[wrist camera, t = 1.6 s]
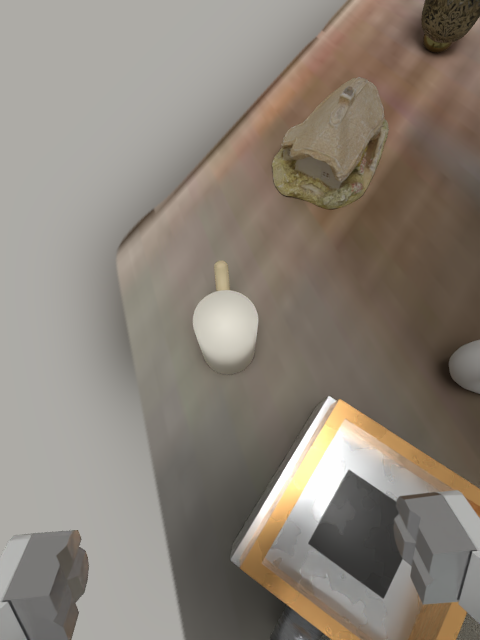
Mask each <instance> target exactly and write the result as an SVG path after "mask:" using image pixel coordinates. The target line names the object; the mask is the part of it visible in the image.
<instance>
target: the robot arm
mask: <svg viewBox="0 0 480 640" xmlns="http://www.w3.org/2000/svg"><path fill="white" fill-rule="evenodd" d="M396 508H397V510H398V512H399V514H398V515H397V516H396V517H395V518H394V526H393V530H394V536H395V541H396V544H397V548H398V550H399V553H400V555H401V557H402V559H403V560H404V561H406V562H407V563H408V564H409V565H411V566H412V568H411V574H410V577H411V580H412V582H413V584H414V586H415V588H416V591H417V593H418V595H419V597H420V599H421V602H422V604H423V605H424V604H437V603H449V602H459V603H458V604H459V605H460V606H461V607H462V608H463V609H464V610H465V611H466V612H467V613H469V614H470V615H471V616H472V617H473V618H474V619H475V620H476V621H477V622H478V623H479V624H480V518H479V517H478V515H477V514H476V512H475V511H474V509H473V508H472V507H471V505H470V504H469V502H468V501H467V500H466V498H465V497H464V495H463V494H462V493H461V492H460V491H458V490H453V491H444V492H430V493H422V494H413V495H405V496H399V497H398V499H397V502H396ZM80 542H81V537H80V534H79V532H78V530H72V531H59V532H45V533H33V534H22V535H14V536H13V537H12V538H11V539H10V541H9V542H8V543H7V545H6V547H5V549H4V551H3V553H2V556H1V558H0V640H71V638H72V635H73V632H74V628H75V625H76V621H77V617H78V614H79V612H78V609H77V606H76V604H75V603H76V602H77V600H78V599H79V598H80V597H81V596H82V595H83V594H84V592H85V588H86V584H87V580H88V570H89V565H88V557H87V554H86V551H85V550H83V549H82V548H80V547H79V545H80Z"/></svg>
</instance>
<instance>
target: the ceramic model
mask: <svg viewBox="0 0 480 640" xmlns="http://www.w3.org/2000/svg"><path fill="white" fill-rule="evenodd" d="M388 130H389V129H388V123H387V121H386V120H385V119H384V109H383V106H382V104H381V101H380V97H379V94H378V91H377V88H376V86H375V85H374V84H372V83H371V82H368V80H366V79H364V78H360V77H358V78H353V79H352V80H350V81H348V82H346V83H345V84H343V85H341V86H340V87H339V88H338V89H337V90H335V91H334V92H333V93H331V94H330V95H329V96H328V97H327V98H326V99H325V100H324V101H323V102H322V103H321V104H320V105H319V106H318V107H317V108H316V109H315V110H314V111H313V113H312V114H311V115H310V116H309V117H308V118H307V119H306V120H305V121H304V122H303V123H301V124H298V125H296V126H294V127H292V128H290V129H289V130H288V132H287V134H286V135H285V137H284V139H283V142H282V144H281V145H282V148H281V150H280V151H279V152H278V153H277V155H276V156H275V157H274V160H273V163H272V167H273V179H274V184H275V186H276V188H277V189H278V191H279V192H280V193H281V194H283V195H285V196H291V197H296V198H299V199H302V200H305V201H308V202H310V203H313V204H315V205H317V206H319V207H322V208H325V209H335V208H340V207H343V206H346V205H348V204H350V203H352V202H354V201H356V200H357V199H359V198H360V197H361V196H362V195H363V194H364V192H365V190H366V189H367V187H368V185H369V183H370V181H371V179H372V177H373V175H374V173H375V170H376V167H377V165H378V163H379V160H380V158H381V154H382V151H383V147H384V143H385V142H386V138H387V135H388Z"/></svg>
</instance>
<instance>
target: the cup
mask: <svg viewBox="0 0 480 640" xmlns="http://www.w3.org/2000/svg"><path fill="white" fill-rule="evenodd" d="M479 17H480V0H425V3H424V7H423V12H422V28H423V31H424V33H425V34H424V37H423V43H424V46H425V47H426V48H427V49H428V50H429V51H432V52H443V51H445V50H446V49H448V48H449V47H450V45H451V44H452V42H454V41H456V40H458V39H460V38H462V37H463V36H464V35H465V34H466V33H467V32H468V31H469V30H470V29H471V28H472V26H473V25H474V24H475V22H476V21H477V19H478V18H479Z"/></svg>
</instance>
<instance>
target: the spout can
mask: <svg viewBox="0 0 480 640" xmlns="http://www.w3.org/2000/svg"><path fill="white" fill-rule="evenodd" d="M214 271H215V282H216V292H213V293H211V294H209V295H207V296H206V297H205V298H203V299H202V300H201V301H200V303H199V304H198V305H197V307H196V309H195V312H194V315H193V328H194V331H195V334H196V337H197V340H198V343H199V345H200V348H201V351H202V354H203V357H204V359H205V361H206V363H207V364H208V366H209V367H210V368H211V369H213V370H214V371H216V372H218V373H220V374H225V375H232V374H236V373H239V372H241V371H243V370H244V369H246V368H247V367H248V366H249V365H250V363H251V362H252V360H253V357H254V354H255V346H256V337H257V329H258V314H257V311H256V308H255V306H254V305H253V303H252V302H251V301H250V300H249V299H248V298H247V297H246V296H244V295H243V294H241V293H238V292H236V291H231V290H230V284H229V273H228V265H227V263H226V262H224V261H218V262H216V263H215V265H214Z"/></svg>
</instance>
